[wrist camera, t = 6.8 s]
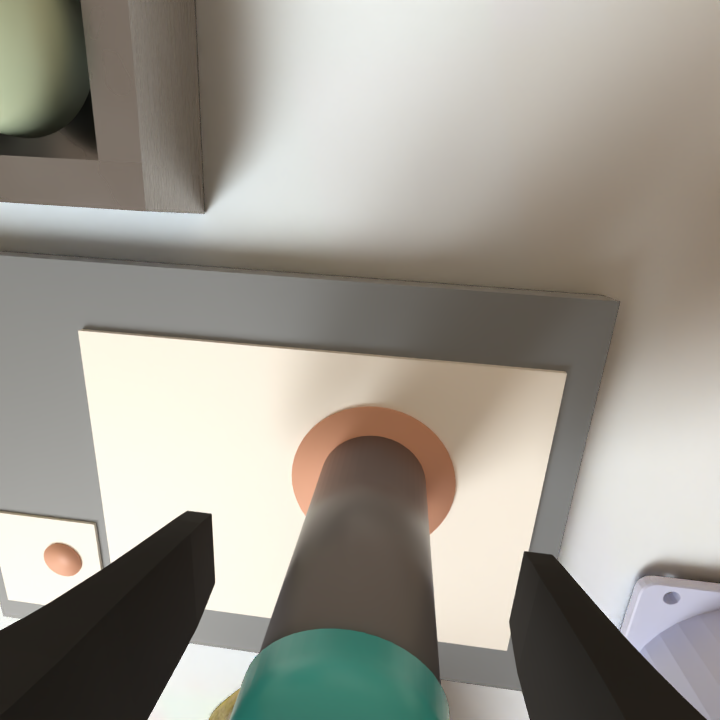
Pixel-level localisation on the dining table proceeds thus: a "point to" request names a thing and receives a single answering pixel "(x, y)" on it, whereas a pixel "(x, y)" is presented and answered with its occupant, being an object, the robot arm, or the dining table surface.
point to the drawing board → (286, 426)
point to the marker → (354, 600)
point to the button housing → (122, 119)
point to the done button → (41, 66)
